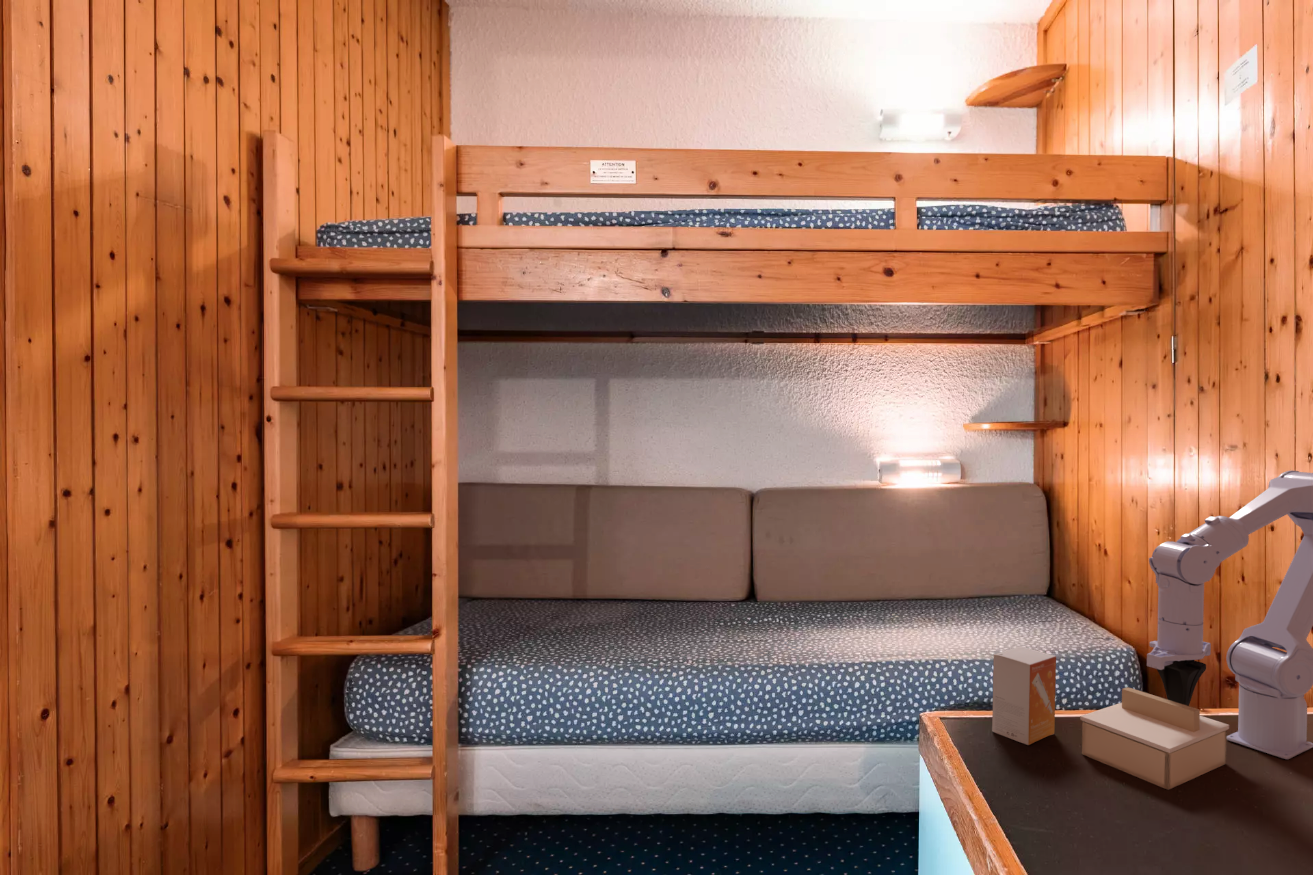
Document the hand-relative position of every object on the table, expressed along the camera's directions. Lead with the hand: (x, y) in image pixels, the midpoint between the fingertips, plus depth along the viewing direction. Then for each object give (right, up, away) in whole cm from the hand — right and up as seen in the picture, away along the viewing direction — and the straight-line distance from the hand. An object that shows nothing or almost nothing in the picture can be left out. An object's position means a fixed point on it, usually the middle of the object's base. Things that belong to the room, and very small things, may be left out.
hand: (1178, 706), depth 112 cm
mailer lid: (-6, -1, -3) cm, 7 cm away
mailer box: (-6, -7, -3) cm, 10 cm away
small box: (-21, -7, +6) cm, 23 cm away
